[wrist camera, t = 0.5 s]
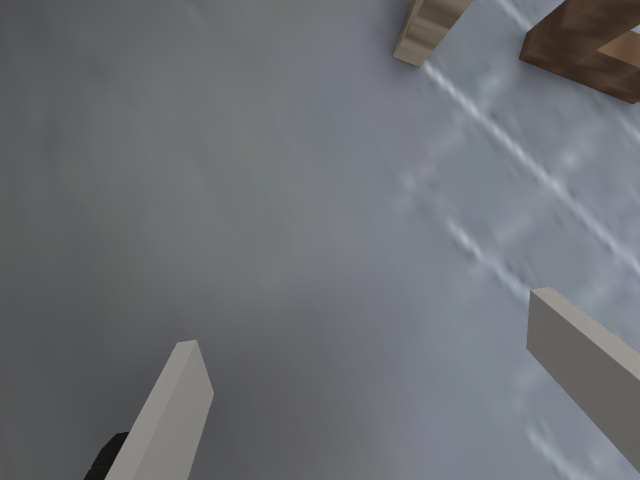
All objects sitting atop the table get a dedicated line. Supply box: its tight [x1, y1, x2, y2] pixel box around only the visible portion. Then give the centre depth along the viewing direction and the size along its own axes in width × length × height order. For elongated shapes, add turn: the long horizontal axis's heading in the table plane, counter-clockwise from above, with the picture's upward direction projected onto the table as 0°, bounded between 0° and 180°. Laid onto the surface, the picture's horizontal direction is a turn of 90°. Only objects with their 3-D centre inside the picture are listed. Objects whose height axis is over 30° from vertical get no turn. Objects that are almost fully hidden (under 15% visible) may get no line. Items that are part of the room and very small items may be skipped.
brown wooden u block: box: [519, 0, 640, 104], centre depth 33 cm, size 14×3×12 cm, turn 72°
